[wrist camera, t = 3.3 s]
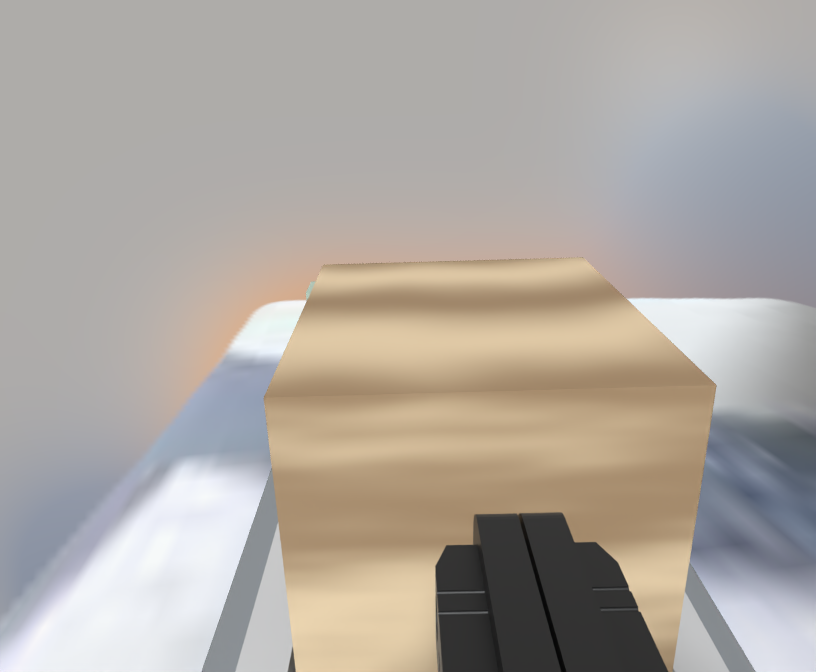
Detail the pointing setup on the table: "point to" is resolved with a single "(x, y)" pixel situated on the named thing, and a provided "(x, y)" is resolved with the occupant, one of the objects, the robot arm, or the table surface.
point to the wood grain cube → (473, 443)
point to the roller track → (271, 632)
